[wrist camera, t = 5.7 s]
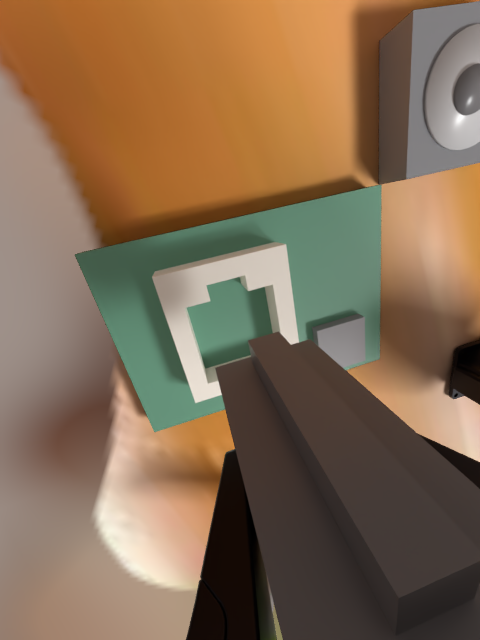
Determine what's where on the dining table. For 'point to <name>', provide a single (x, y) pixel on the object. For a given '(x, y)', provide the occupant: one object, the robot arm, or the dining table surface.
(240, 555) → the robot arm
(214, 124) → the dining table surface
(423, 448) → the plug
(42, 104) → the dining table surface
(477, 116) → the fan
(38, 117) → the dining table surface
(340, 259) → the board
